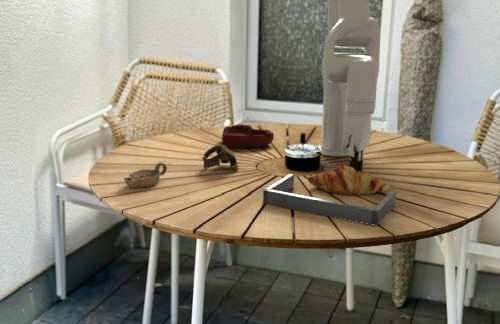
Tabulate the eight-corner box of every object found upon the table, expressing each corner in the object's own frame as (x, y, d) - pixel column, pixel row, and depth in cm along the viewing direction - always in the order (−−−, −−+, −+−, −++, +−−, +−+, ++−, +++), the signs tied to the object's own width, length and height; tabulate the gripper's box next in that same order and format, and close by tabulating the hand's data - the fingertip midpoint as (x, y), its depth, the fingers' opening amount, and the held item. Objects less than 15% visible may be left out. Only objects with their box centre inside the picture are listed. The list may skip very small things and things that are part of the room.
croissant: (387, 202, 156) (389, 172, 158) (391, 196, 147) (393, 165, 148) (307, 195, 160) (310, 166, 161) (306, 189, 150) (308, 158, 151)
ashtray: (206, 144, 199) (206, 129, 197) (242, 136, 209) (242, 122, 208) (241, 155, 186) (241, 139, 185) (277, 146, 197) (278, 132, 195)
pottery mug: (240, 176, 166) (226, 153, 162) (210, 188, 169) (196, 166, 165) (242, 154, 176) (229, 133, 173) (214, 166, 179) (201, 145, 175)
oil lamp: (133, 193, 150) (132, 174, 149) (117, 186, 155) (116, 168, 154) (174, 182, 159) (174, 164, 157) (158, 176, 164) (158, 159, 163)
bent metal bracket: (289, 186, 157) (289, 173, 156) (394, 205, 144) (396, 192, 143) (263, 203, 144) (263, 189, 143) (376, 226, 131) (377, 211, 130)
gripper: (355, 101, 162) (351, 165, 167) (336, 110, 149) (332, 179, 154) (382, 103, 158) (377, 169, 164) (364, 113, 146) (360, 183, 151)
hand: (355, 173), depth 159 cm, fingers closed
